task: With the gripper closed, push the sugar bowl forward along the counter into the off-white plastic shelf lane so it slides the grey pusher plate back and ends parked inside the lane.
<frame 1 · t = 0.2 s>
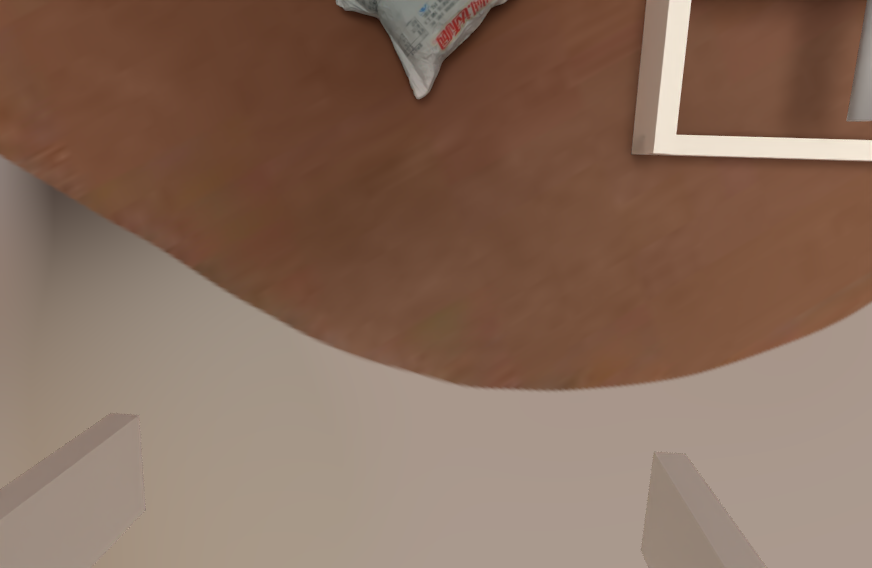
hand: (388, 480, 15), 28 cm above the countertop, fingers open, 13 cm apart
pusher: (849, 40, 33), point 5 cm above the countertop, slide at 0.0 cm
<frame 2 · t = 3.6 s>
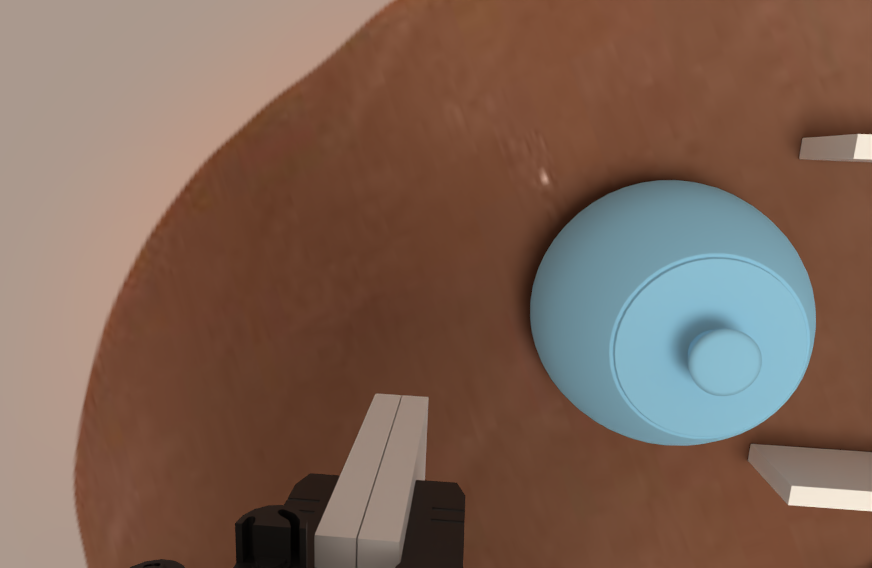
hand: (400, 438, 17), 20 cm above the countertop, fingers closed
sugar bowl: (647, 300, 36), on the countertop
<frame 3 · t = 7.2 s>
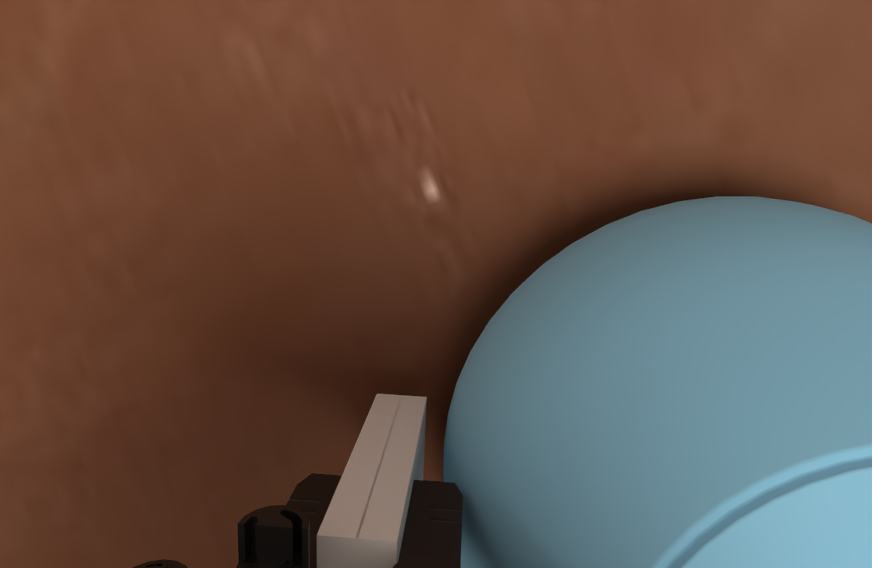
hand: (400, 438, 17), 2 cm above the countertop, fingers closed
sugar bowl: (682, 429, 19), on the countertop, touching gripper
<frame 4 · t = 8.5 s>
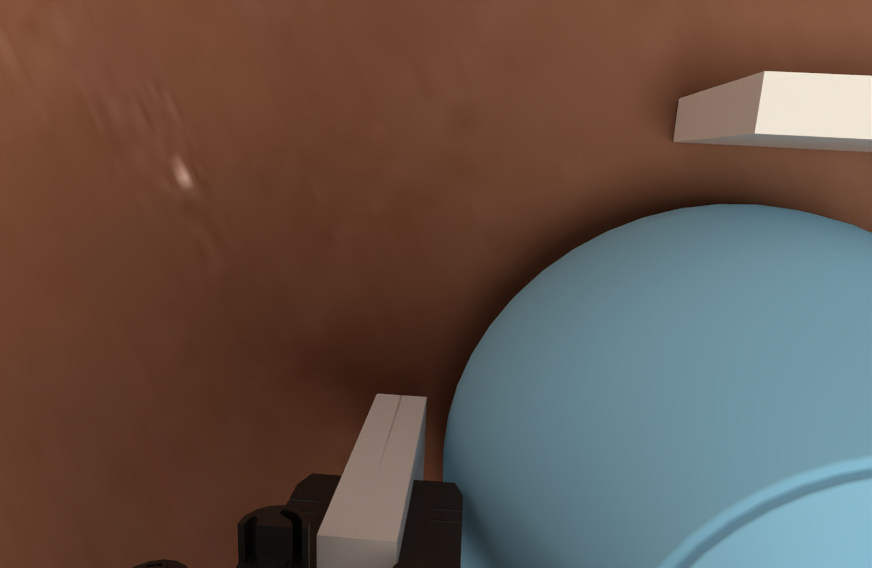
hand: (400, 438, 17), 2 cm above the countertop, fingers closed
sugar bowl: (680, 434, 19), on the countertop, touching gripper
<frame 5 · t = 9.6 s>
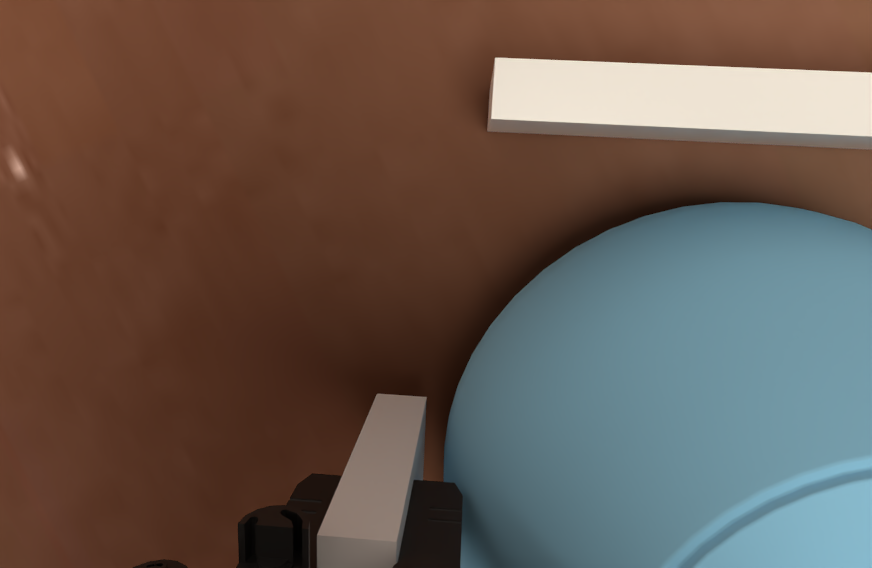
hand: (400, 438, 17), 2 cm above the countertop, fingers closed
lane: (803, 443, 18), on the countertop
sugar bowl: (682, 434, 19), on the countertop, touching gripper
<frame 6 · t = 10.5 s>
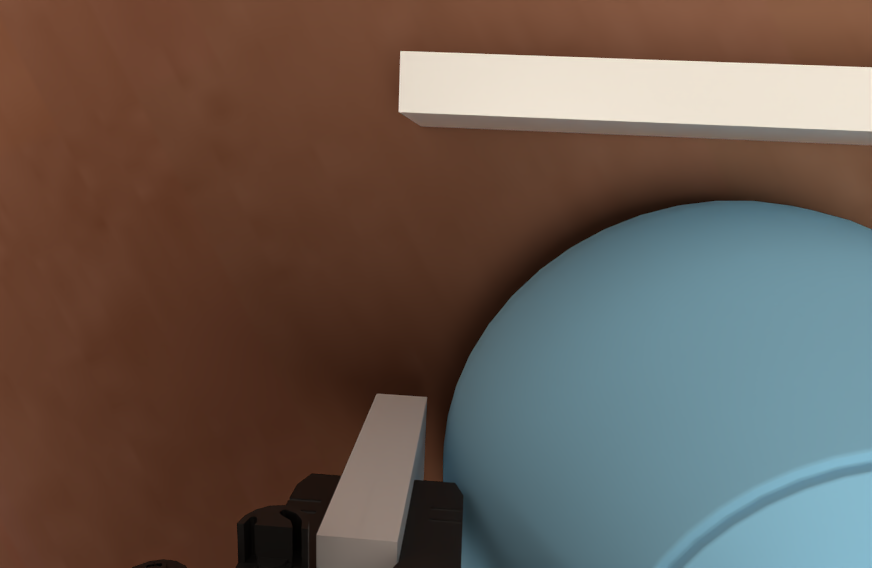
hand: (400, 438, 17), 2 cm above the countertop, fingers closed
lane: (742, 436, 18), on the countertop
sugar bowl: (680, 431, 19), on the countertop, touching gripper
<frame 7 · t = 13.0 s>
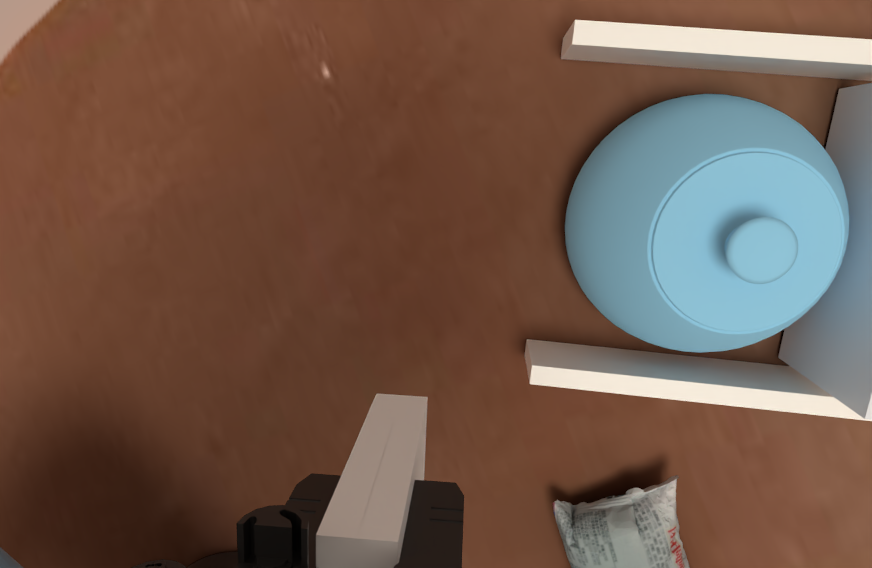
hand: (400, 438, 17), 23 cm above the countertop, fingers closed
lane: (709, 221, 37), on the countertop
packaged food: (628, 537, 43), on the countertop
sugar bowl: (679, 221, 37), on the countertop
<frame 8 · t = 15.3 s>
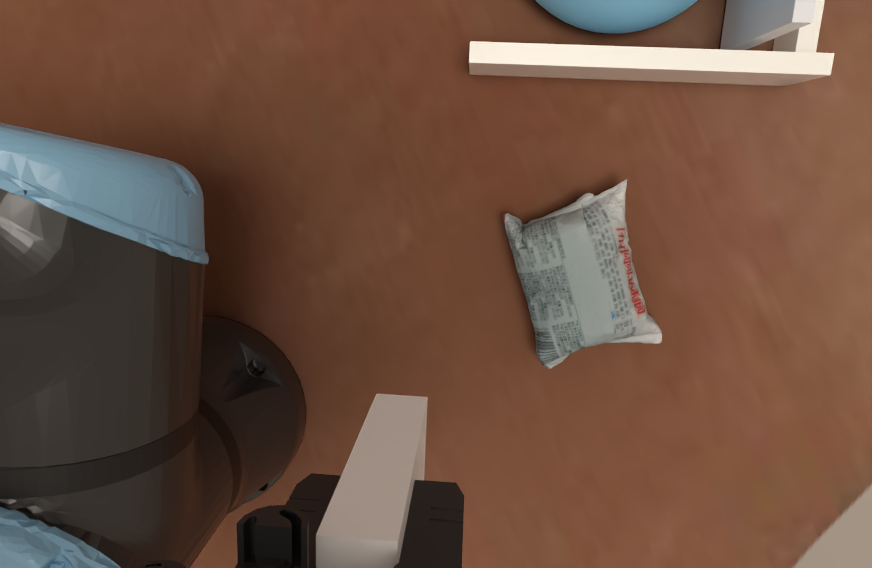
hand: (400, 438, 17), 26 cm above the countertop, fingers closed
packaged food: (580, 271, 43), on the countertop
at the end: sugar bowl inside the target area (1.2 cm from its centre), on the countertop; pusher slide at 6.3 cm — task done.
